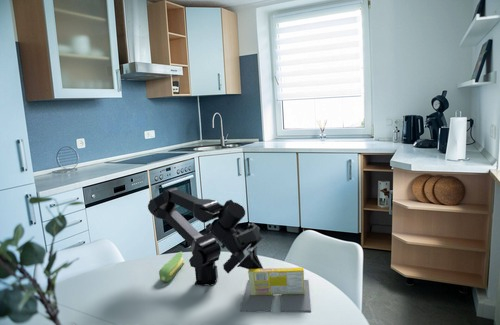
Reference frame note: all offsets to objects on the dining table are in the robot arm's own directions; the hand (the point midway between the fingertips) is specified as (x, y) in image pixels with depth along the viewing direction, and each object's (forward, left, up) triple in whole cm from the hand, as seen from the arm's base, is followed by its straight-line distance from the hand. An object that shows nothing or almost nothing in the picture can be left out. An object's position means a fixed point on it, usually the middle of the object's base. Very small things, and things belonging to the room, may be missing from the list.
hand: (263, 272), depth 111 cm
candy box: (+4, -1, -6) cm, 7 cm away
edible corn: (-33, +16, -7) cm, 38 cm away
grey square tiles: (+4, -1, -7) cm, 8 cm away
